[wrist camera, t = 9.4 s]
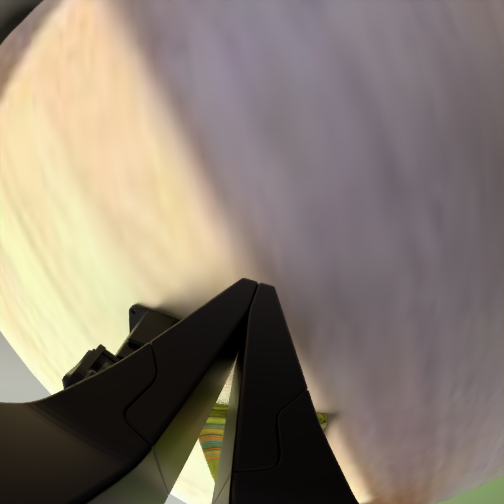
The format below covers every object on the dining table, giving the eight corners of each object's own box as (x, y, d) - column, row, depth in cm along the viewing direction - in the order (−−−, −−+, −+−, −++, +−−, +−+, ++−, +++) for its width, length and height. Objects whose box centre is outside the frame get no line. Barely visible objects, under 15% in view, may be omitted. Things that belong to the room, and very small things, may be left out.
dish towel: (328, 406, 30) (329, 430, 27) (299, 501, 45) (297, 514, 42) (190, 394, 32) (182, 416, 29) (222, 494, 47) (219, 507, 44)
